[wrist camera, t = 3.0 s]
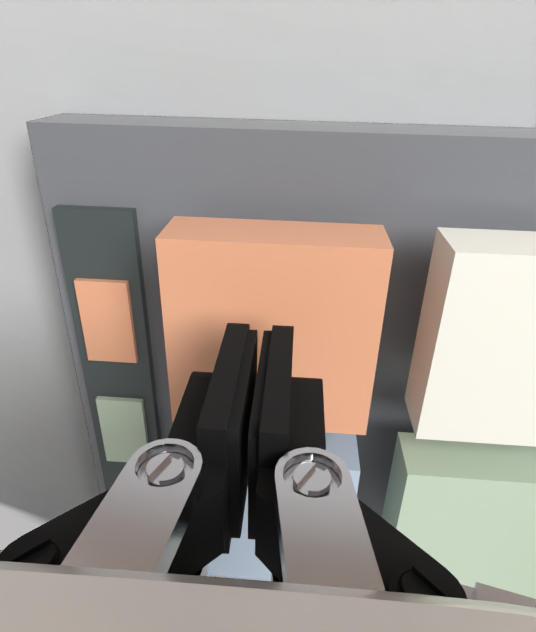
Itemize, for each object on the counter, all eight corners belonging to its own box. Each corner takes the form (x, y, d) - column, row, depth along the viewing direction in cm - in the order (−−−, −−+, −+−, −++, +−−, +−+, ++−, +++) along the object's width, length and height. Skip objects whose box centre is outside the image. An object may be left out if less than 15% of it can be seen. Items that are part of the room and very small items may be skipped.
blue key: (355, 429, 17) (360, 471, 16) (340, 540, 20) (342, 586, 18) (189, 417, 18) (175, 458, 16) (197, 529, 20) (186, 573, 19)
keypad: (665, 131, 16) (740, 148, 13) (518, 515, 24) (544, 573, 21) (63, 113, 17) (15, 124, 14) (124, 485, 25) (102, 537, 23)
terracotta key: (383, 224, 14) (393, 249, 12) (359, 395, 17) (365, 435, 15) (174, 216, 14) (155, 238, 12) (186, 384, 17) (172, 422, 15)
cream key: (659, 236, 13) (712, 263, 12) (586, 409, 16) (620, 452, 14) (436, 226, 14) (455, 252, 12) (404, 398, 17) (415, 438, 15)
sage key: (572, 443, 17) (603, 488, 15) (525, 555, 20) (547, 604, 18) (397, 431, 17) (408, 474, 15) (376, 543, 20) (383, 590, 18)
